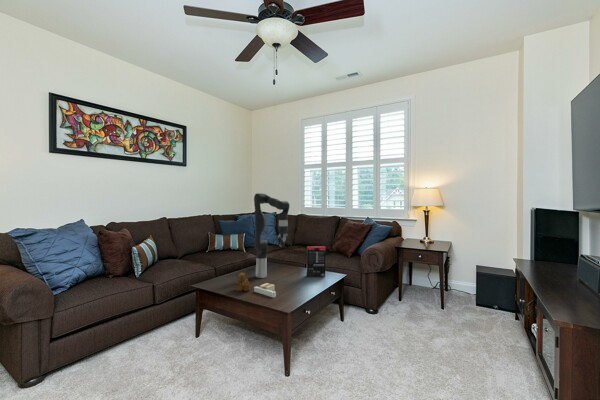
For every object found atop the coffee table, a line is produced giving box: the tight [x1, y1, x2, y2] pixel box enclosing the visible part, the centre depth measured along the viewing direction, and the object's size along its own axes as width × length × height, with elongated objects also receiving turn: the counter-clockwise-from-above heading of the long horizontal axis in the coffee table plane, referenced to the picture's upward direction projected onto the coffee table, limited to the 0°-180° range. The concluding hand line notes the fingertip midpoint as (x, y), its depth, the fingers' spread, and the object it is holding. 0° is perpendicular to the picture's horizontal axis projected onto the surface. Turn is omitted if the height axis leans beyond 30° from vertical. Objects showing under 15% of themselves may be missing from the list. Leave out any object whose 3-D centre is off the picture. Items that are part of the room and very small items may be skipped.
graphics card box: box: [305, 245, 327, 278], centre depth 255 cm, size 17×7×27 cm, turn 96°
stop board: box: [253, 285, 277, 298], centre depth 210 cm, size 20×2×4 cm, turn 53°
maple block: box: [259, 282, 276, 292], centre depth 215 cm, size 8×8×5 cm
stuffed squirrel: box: [234, 272, 252, 292], centre depth 218 cm, size 10×14×13 cm
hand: (283, 246), depth 230 cm, fingers closed
